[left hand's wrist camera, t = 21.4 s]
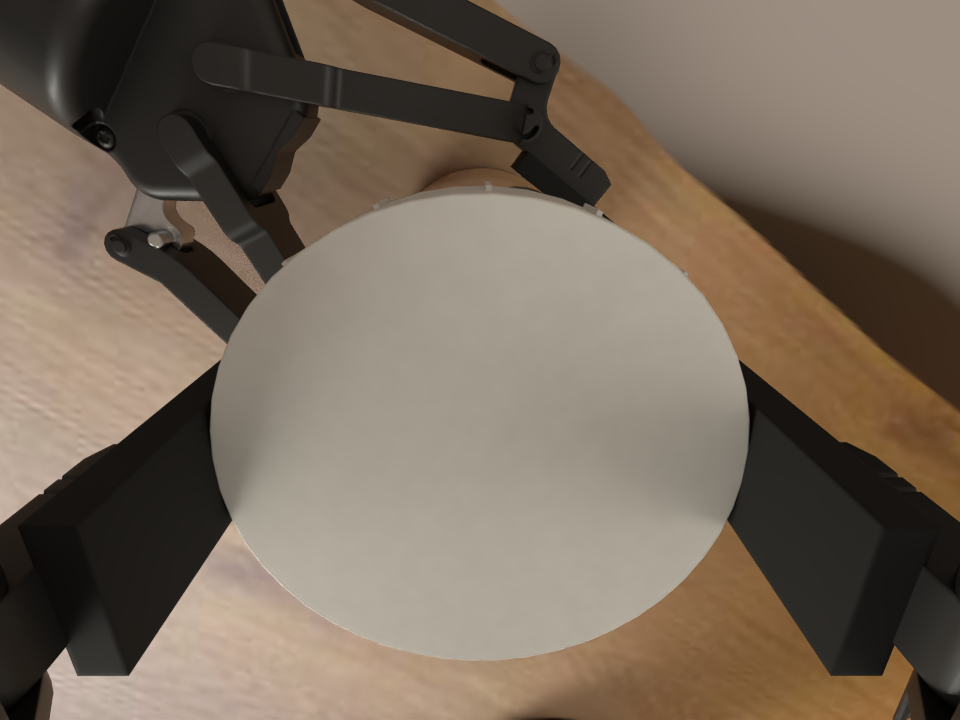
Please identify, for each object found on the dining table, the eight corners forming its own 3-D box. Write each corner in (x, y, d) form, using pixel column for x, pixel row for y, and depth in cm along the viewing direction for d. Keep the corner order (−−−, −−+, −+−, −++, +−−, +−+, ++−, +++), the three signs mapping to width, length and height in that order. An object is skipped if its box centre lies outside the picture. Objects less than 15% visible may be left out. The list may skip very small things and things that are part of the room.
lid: (806, 277, 11) (866, 300, 9) (606, 639, 14) (622, 702, 13) (292, 104, 9) (253, 95, 8) (218, 548, 13) (182, 604, 12)
